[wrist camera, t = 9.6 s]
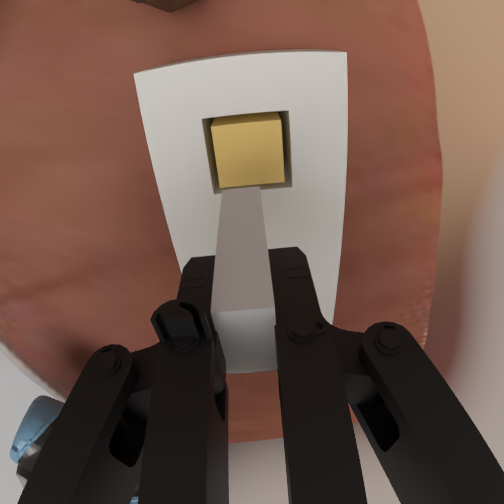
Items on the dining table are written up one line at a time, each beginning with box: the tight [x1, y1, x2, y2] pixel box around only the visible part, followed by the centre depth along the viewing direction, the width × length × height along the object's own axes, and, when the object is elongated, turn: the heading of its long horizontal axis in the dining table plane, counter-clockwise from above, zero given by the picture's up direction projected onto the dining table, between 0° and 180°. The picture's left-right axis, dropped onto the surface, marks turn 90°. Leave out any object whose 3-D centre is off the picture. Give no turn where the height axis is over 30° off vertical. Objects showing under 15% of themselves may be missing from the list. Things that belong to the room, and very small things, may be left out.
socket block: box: [134, 49, 348, 325], centre depth 25 cm, size 24×12×8 cm, turn 5°
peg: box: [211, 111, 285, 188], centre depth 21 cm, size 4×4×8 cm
